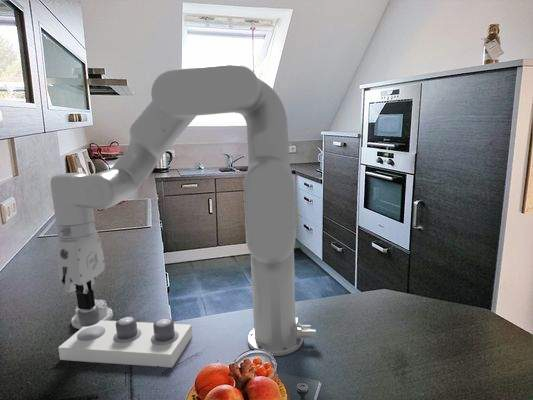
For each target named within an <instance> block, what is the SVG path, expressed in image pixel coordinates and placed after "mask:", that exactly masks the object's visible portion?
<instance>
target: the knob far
mask: <svg viewBox="0 0 533 400" xmlns="http://www.w3.org/2000/svg"><path fill="white" fill-rule="evenodd" d="M78 319H79V325H80V326H83V327H87V326H92V325H95V324H97V323H98V322H99V321H100V314H99V307H98V306H96V305H95V306H94V307H92V308H91V309H79V310H78Z"/></svg>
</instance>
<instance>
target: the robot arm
mask: <svg viewBox="0 0 533 400" xmlns="http://www.w3.org/2000/svg"><path fill="white" fill-rule="evenodd" d="M150 92H151V93H150V94H151V96H150V97H151V102H149V103H148V105H147V106H146V108H145V109H143V111H142V112H141V113H140V115H139V116H138V117H137V118H136V119H135V120H134V121H133V123H132V124H131V126H130V128H129V136H130V140H129V144H128V146H127V148H126V149H125V151H124V153H123V154H122V155H121V156H120V158H119V159H118V160H117V161H116V162H115V164H114V165H113V166H112V167H111V168H110V169H107V170H103V171H99V172H96V173H94V174H93V173H92V174H89V175H87V174H86V173H83V172H68V173H67V172H65V173H60V174H55V175H54V176H52V177H51V178H50V189H51V190H50V191H51V197H52V198H51V199H52V205H53V211H54V217H55V227H56V233H57V239H58V240H57V269H58V270H57V271H58V276H59V280H60V283H61V284H62V285H64V291H65V292H66V293H73V294H75V295H76V302H77V306H78V308H79V309H91V308H92V307H94V306H95V293H94V289H95V284H96V283H95V280H96V278H97V277H98V276H99V275H100V274H102V273H103V272H104V270H105V269H106V265H105V258H104V257H105V256H104V252H103V247H102V243H101V239H100V236H99V232H98V231H97V230H96V229H97V228H96V222H95V213H94V210H106V209H109V208H112V207H114V206H116V205H117V204H119V203H120V202H123V201H125V200H128V199H129V198H130V197H131V196H132V195H133V194H135V192H136V191H137V190H138V189H139V187H141V185H143V183H144V182H145V181H146V180H147V178H148V177H149V176H150V174H152V172H153V171H154V169H155V167H156V166H157V165H158V163H159V162H160V161H161V160H162V158H163V156H164V155H165V153H166V152H167V151H168V150H169V149H170V147H172V145H173V144H174V142H175V141H176V140H177V139H178V138H179V137H180V135H181V134H183V132H184V131H185V130H186V129H187V127H188V126H189V125H190V124H191V123H192V122H193V120H195V118H196V117H198V116H206V115H207V116H208V115H209V116H210V115H217V114H218V115H219V114H220V115H221V114H231V113H233V114H234V113H235V114H240V115H242V117H243V119H244V120H245V122H246V123H245V124H246V137H247V138H246V139H247V154H248V159H247V160H248V167H247V169H246V170H247V171H246V173H245V175H244V179H243V202H244V203H243V204H244V225H245V226H244V227H245V242H246V247H247V249H248V251H249V253H250V270H251V289H252V290H251V292H252V293H251V294H252V296H251V297H252V311H253V314H252V315H253V329H252V330H250V332H249V333H248V335H247V343H248V345H249V348H250V349H251V350H252V349H257V348H259V349H264V350H266V351H268V352H270V353H271V354H273V355H274V356H273V357H279V356H280V357H281V356H286V355H289V354H292V353H294V352H296V351H297V350H299V349H300V348H301V346H302V345H303V342H304V339H311V340H312V339H313V340H314V339H317V338H316V337H317V336H316V335H317V334H316V333H317V331H316V329H312V325H311V324H301V323H300V322H299V317H298V316H297V317H296V291H295V290H296V289H295V286H296V285H295V276H296V275H295V249H294V248H295V245H296V195H295V193H296V192H295V191H296V190H295V180H294V175H293V173H292V169H291V163H290V143H289V127H288V119H287V113H286V109H285V106H284V104H283V101H282V99H281V98H280V96H279V95H278V94H277V92H276V91H275V89H273V88H272V87H271V86H270V85H269V84H268V83H266V82H264V81H263V80H262V79H260V78H258V77H257V75H256V74H255V73H254V71H253V70H252V69H250V68H249V67H248V66H245V65H243V64H239V63H227V64H225V63H224V64H216V65H206V66H205V65H204V66H198V67H187V68H186V67H183V68H174V69H169V70H166V71H164V72H163V73H160V75H158V76H157V77H156V79H155V80H154V82H153V83H152V87H151V91H150ZM65 292H64V293H65Z"/></svg>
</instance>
